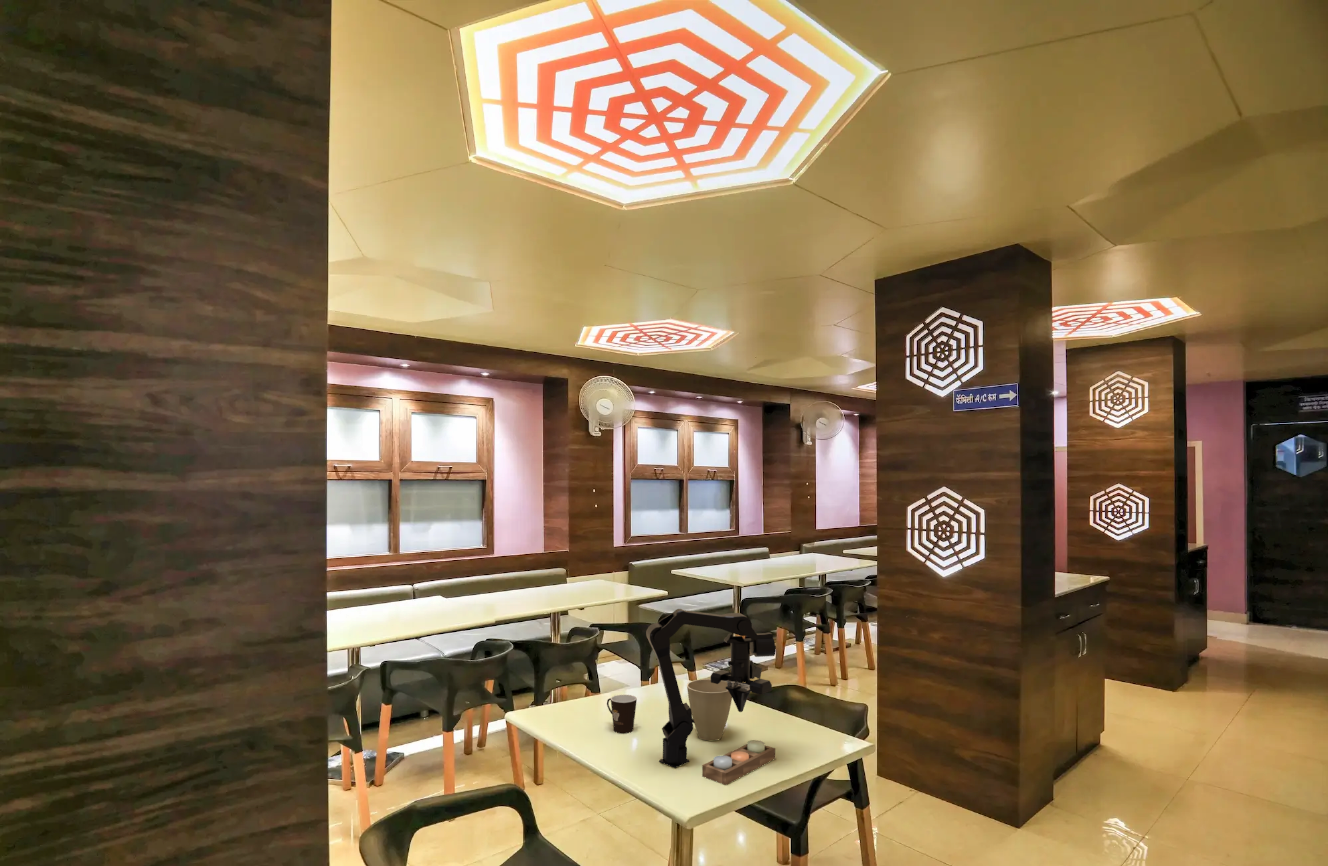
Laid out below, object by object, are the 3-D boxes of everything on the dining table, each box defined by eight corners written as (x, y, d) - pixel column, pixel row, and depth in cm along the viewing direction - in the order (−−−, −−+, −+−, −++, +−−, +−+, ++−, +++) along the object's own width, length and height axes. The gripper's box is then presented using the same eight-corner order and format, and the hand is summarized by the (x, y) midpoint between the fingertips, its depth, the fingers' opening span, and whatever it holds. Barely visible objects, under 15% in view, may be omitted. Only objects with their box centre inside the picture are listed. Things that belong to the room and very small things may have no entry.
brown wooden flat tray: (702, 776, 179) (702, 765, 179) (752, 751, 197) (752, 741, 197) (725, 785, 174) (725, 773, 174) (775, 759, 191) (775, 748, 191)
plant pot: (678, 740, 206) (679, 687, 207) (698, 725, 219) (698, 676, 220) (722, 749, 199) (722, 694, 200) (740, 733, 212) (740, 682, 213)
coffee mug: (640, 732, 212) (640, 700, 213) (614, 736, 209) (615, 703, 210) (628, 721, 223) (629, 691, 224) (604, 724, 220) (604, 693, 221)
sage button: (744, 754, 191) (744, 743, 191) (753, 749, 195) (753, 738, 195) (758, 758, 188) (758, 747, 188) (768, 753, 191) (767, 743, 191)
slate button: (710, 770, 179) (709, 759, 179) (721, 765, 183) (721, 754, 183) (724, 775, 176) (724, 764, 176) (735, 770, 179) (735, 758, 180)
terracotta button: (727, 765, 185) (727, 754, 185) (738, 760, 189) (737, 749, 189) (742, 770, 182) (741, 759, 182) (752, 765, 185) (752, 754, 186)
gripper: (781, 657, 195) (782, 712, 193) (731, 648, 207) (731, 699, 206) (760, 664, 186) (761, 721, 185) (709, 654, 199) (709, 707, 197)
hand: (740, 711), depth 193 cm, fingers closed
